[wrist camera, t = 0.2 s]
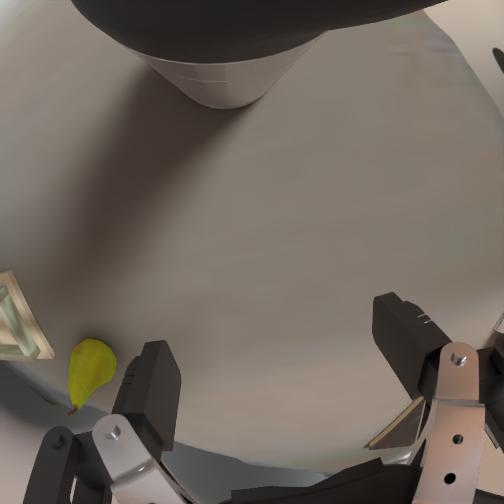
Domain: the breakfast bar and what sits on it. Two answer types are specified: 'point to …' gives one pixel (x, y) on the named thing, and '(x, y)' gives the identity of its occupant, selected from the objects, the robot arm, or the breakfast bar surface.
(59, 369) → the breakfast bar surface
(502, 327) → the skyscraper
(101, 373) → the fruit
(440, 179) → the breakfast bar surface
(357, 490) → the robot arm
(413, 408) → the book
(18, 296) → the tray
